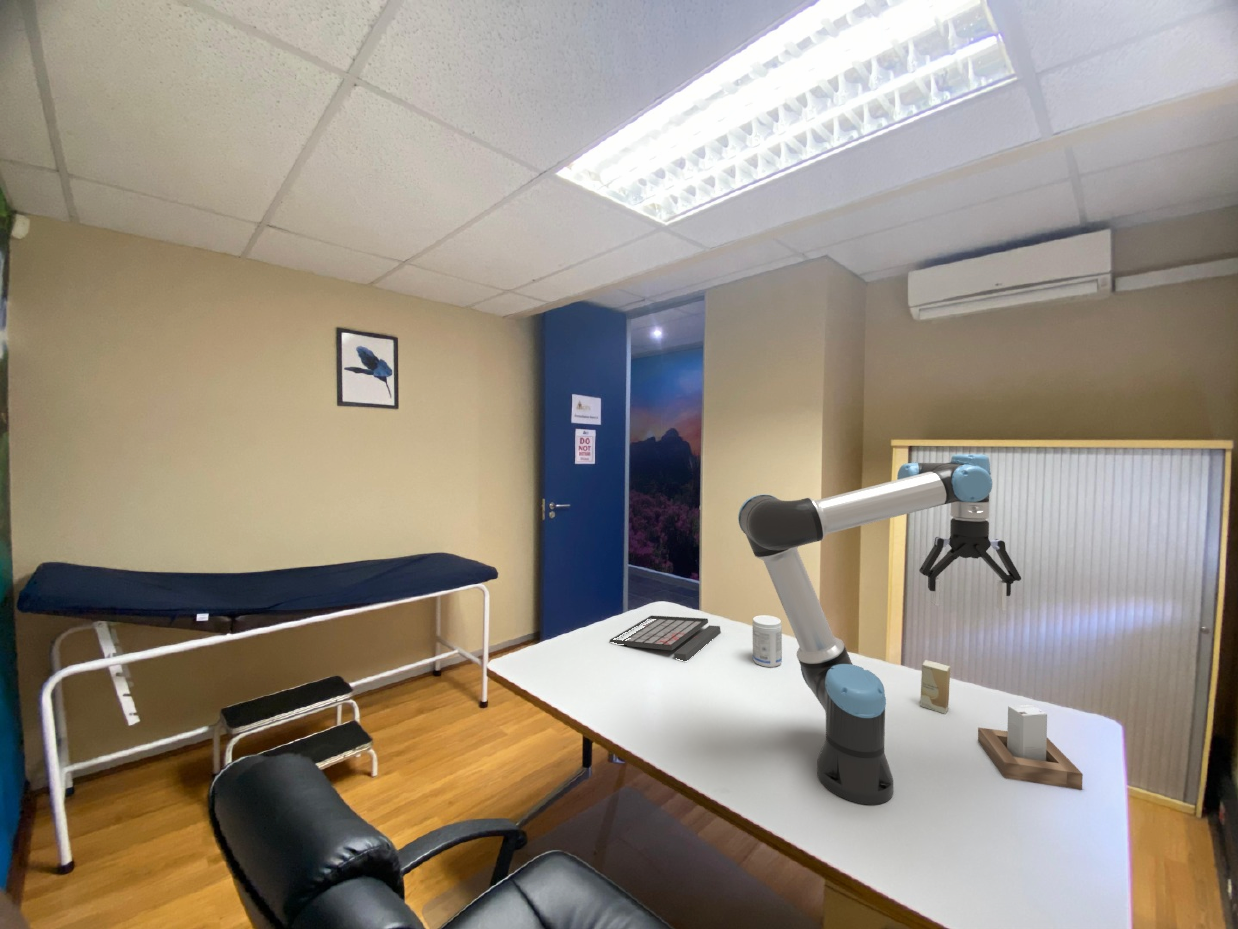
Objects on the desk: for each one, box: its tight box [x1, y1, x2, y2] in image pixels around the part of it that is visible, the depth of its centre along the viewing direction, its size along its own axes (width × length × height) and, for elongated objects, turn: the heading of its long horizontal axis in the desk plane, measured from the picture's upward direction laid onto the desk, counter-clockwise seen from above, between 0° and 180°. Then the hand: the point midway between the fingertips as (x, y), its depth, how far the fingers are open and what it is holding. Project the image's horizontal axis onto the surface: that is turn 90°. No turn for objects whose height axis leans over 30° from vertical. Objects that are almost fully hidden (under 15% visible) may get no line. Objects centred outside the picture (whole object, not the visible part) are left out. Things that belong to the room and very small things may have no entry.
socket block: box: [977, 727, 1084, 791], centre depth 113 cm, size 14×14×4 cm
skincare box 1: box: [919, 659, 951, 715], centre depth 137 cm, size 6×4×12 cm
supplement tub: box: [752, 614, 783, 668], centre depth 167 cm, size 10×10×15 cm
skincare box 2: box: [1006, 704, 1048, 761], centre depth 113 cm, size 6×4×12 cm
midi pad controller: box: [609, 615, 722, 662], centre depth 190 cm, size 32×7×31 cm
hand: (967, 606), depth 118 cm, fingers open, 13 cm apart
